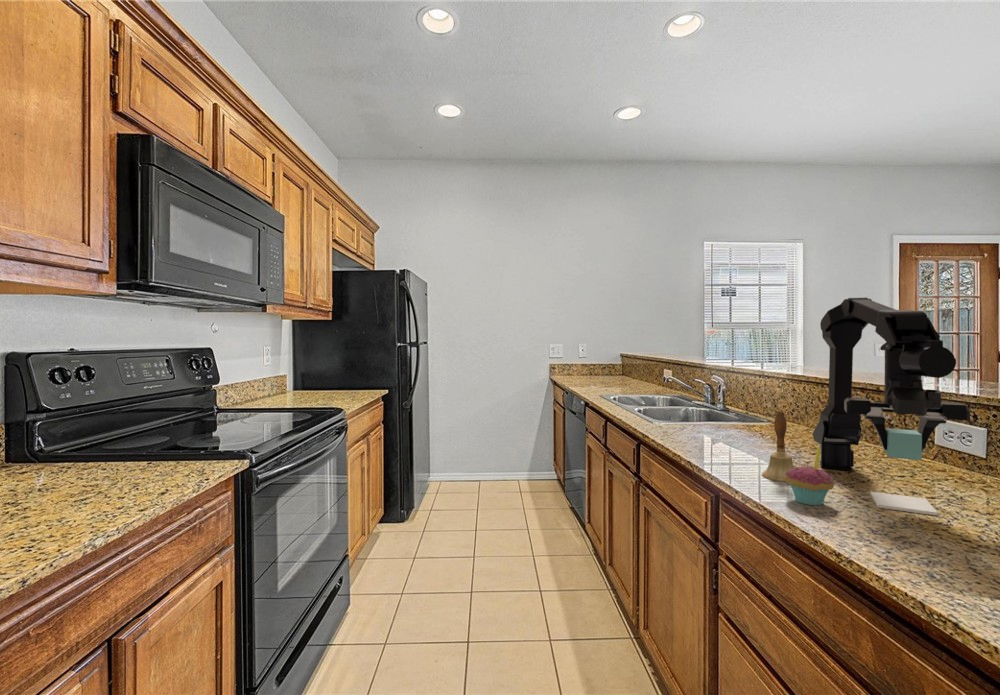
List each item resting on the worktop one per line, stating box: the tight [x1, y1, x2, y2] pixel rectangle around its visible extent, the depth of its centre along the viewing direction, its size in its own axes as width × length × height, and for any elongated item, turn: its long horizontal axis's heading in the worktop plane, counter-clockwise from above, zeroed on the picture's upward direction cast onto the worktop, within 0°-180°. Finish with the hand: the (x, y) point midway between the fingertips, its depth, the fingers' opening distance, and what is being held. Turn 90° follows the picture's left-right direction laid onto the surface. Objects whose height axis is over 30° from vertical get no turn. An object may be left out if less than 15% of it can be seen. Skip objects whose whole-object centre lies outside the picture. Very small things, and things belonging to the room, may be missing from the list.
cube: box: [883, 427, 923, 461], centre depth 96 cm, size 5×5×5 cm
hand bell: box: [761, 410, 795, 483], centre depth 115 cm, size 8×8×16 cm
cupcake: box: [784, 444, 835, 506], centre depth 98 cm, size 9×8×12 cm
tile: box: [869, 491, 939, 516], centre depth 96 cm, size 9×9×1 cm
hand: (902, 451), depth 96 cm, fingers closed on cube, 5 cm apart
